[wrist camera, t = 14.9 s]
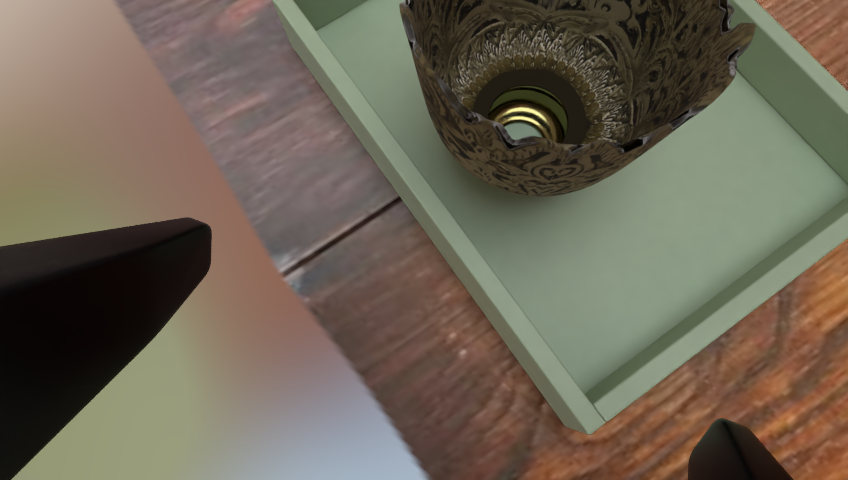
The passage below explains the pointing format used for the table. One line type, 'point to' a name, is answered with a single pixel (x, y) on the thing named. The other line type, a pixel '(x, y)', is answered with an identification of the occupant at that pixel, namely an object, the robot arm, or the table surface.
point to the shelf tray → (608, 208)
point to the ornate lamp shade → (567, 81)
